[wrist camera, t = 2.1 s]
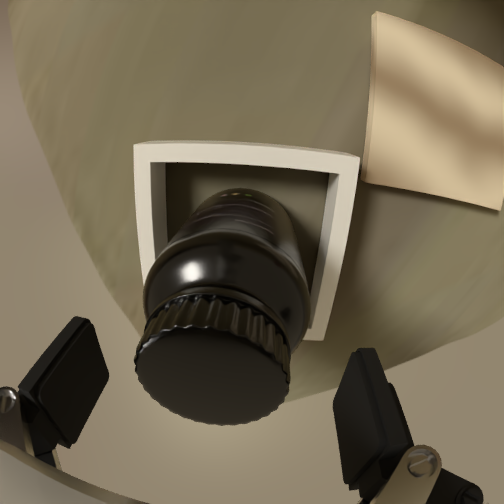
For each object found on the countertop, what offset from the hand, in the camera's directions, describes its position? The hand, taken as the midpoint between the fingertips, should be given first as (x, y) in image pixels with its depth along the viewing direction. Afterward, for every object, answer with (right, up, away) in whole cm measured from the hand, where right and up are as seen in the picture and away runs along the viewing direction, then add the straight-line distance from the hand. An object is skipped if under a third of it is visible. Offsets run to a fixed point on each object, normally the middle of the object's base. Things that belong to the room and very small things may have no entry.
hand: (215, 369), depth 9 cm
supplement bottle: (+1, +5, +9) cm, 11 cm away
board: (+14, +13, +5) cm, 20 cm away
